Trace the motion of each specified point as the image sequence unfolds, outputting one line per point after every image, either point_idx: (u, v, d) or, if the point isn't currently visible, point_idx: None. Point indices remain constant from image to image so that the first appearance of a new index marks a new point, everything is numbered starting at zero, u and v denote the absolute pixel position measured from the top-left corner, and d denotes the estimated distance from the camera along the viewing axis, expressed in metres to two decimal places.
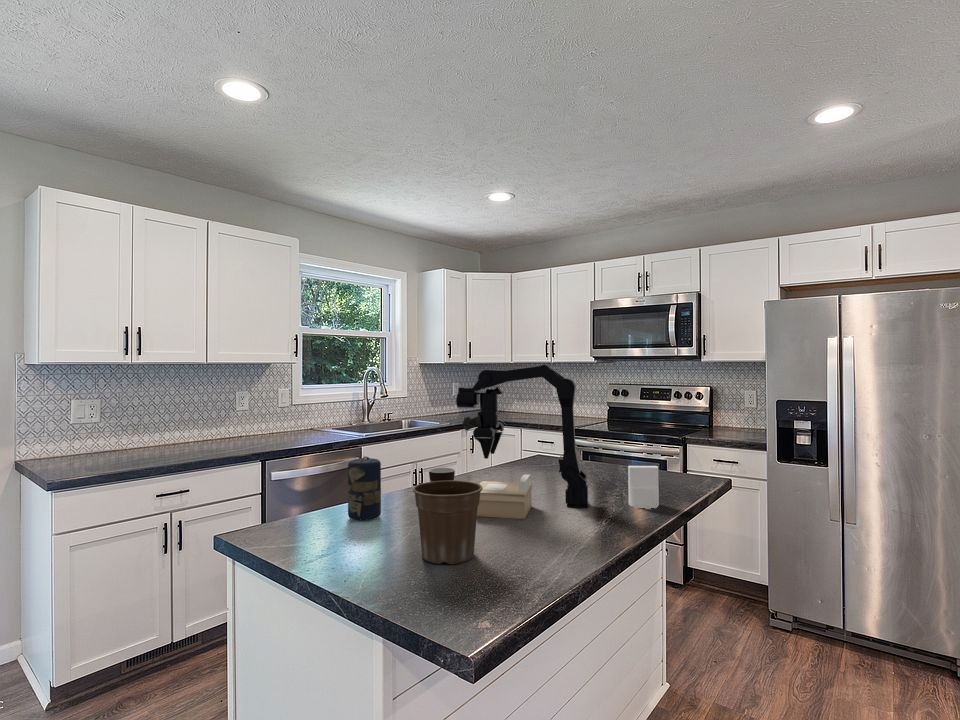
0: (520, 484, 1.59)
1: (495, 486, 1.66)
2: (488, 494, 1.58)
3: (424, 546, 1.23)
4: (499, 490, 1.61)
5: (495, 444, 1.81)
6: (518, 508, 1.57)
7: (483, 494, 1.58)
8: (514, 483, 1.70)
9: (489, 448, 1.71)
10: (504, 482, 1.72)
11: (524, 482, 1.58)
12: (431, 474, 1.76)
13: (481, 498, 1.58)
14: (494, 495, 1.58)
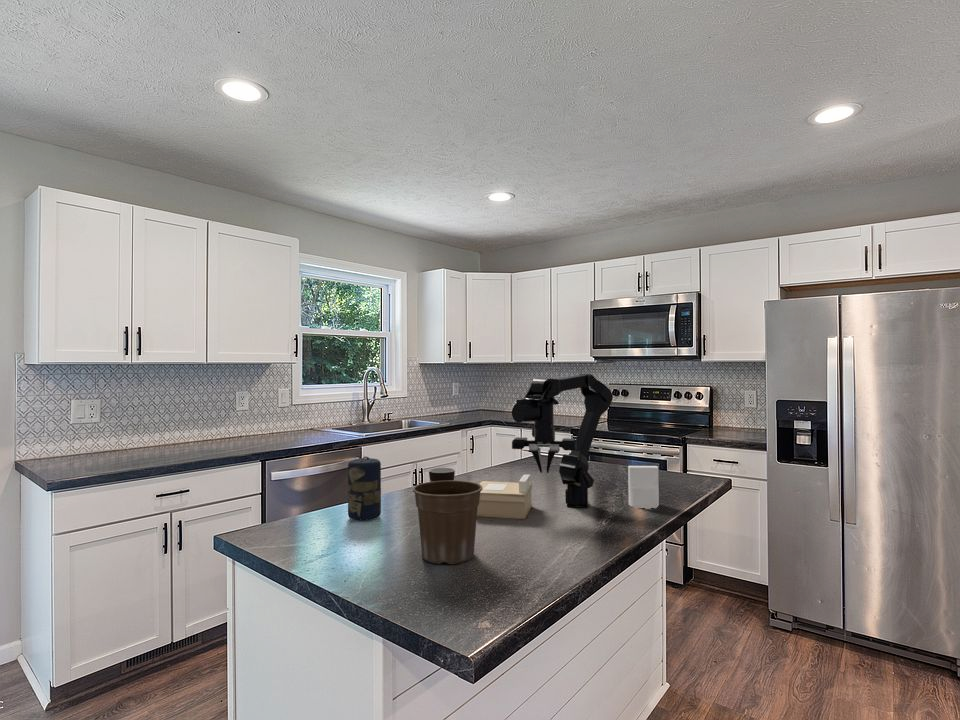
0: (520, 484, 1.59)
1: (495, 486, 1.66)
2: (488, 494, 1.58)
3: (424, 546, 1.23)
4: (499, 490, 1.61)
5: (547, 463, 1.61)
6: (518, 508, 1.57)
7: (483, 494, 1.58)
8: (514, 483, 1.70)
9: (537, 462, 1.61)
10: (504, 482, 1.72)
11: (524, 482, 1.58)
12: (431, 474, 1.76)
13: (481, 498, 1.58)
14: (494, 495, 1.58)
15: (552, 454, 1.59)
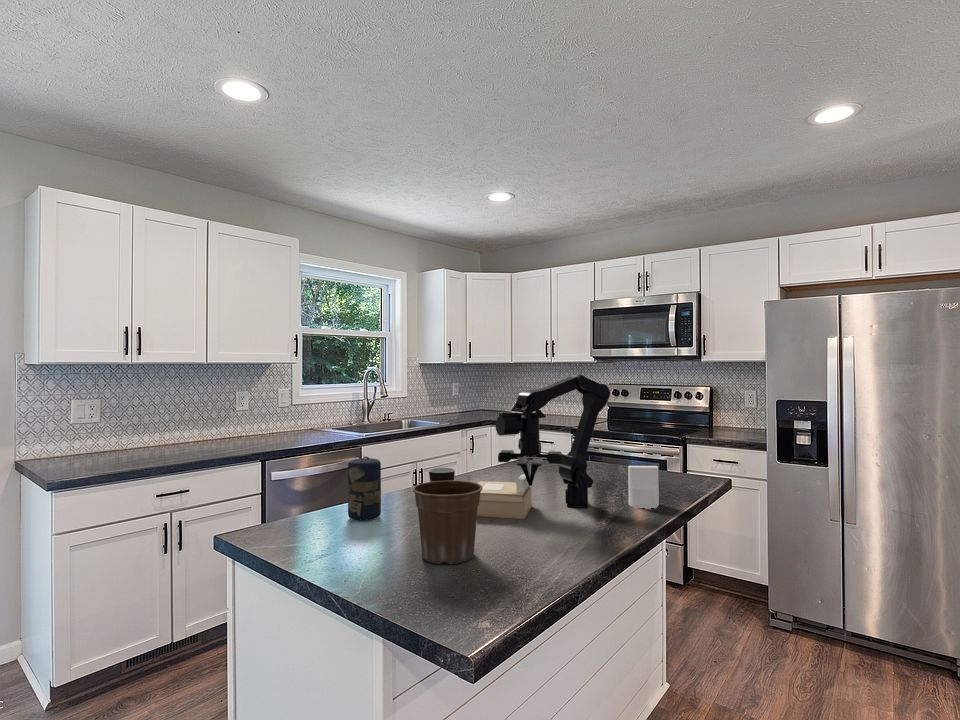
0: (518, 484, 1.59)
1: (493, 486, 1.66)
2: (486, 494, 1.58)
3: (424, 546, 1.23)
4: (497, 490, 1.61)
5: None
6: (518, 508, 1.57)
7: (481, 494, 1.58)
8: (512, 483, 1.71)
9: (525, 475, 1.62)
10: (502, 482, 1.72)
11: (522, 482, 1.59)
12: (431, 474, 1.76)
13: None
14: (491, 495, 1.58)
15: (535, 467, 1.60)
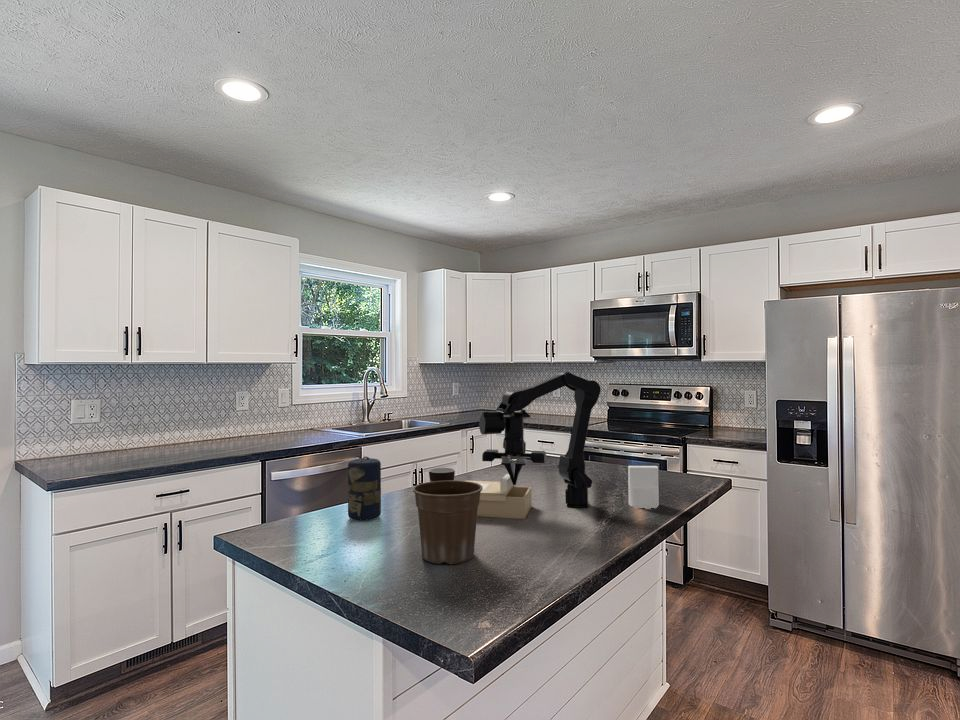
0: (501, 483, 1.60)
1: None
2: None
3: (424, 546, 1.23)
4: None
5: None
6: (518, 508, 1.57)
7: None
8: (497, 482, 1.72)
9: (509, 474, 1.63)
10: (487, 481, 1.73)
11: (505, 481, 1.60)
12: (431, 474, 1.76)
13: None
14: None
15: (519, 466, 1.61)
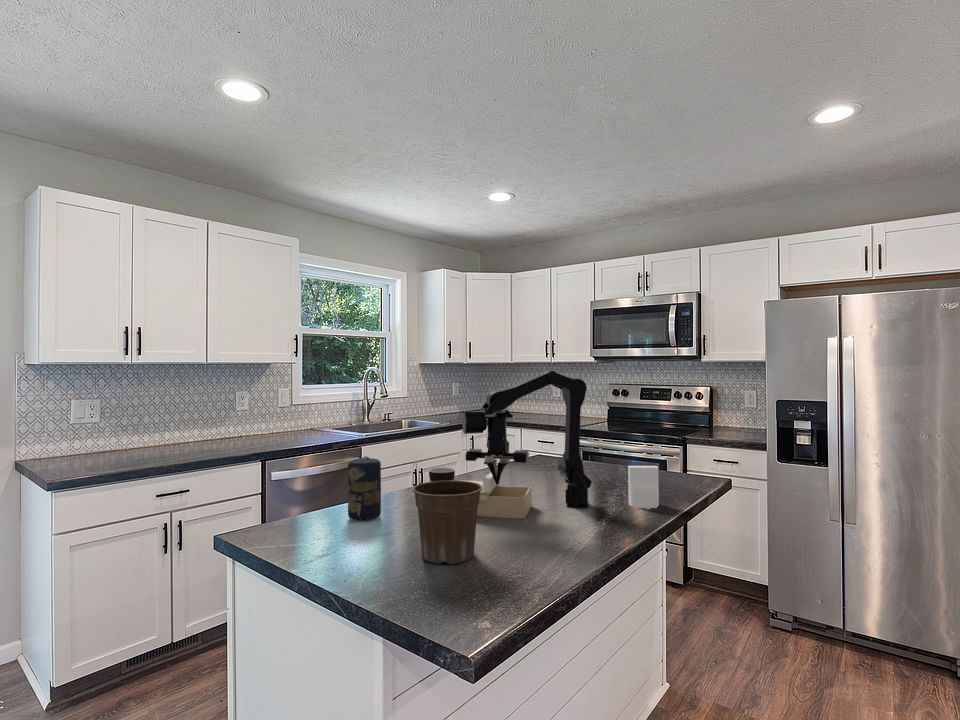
0: (484, 483, 1.61)
1: None
2: None
3: (424, 546, 1.23)
4: None
5: (497, 474, 1.64)
6: (518, 508, 1.57)
7: None
8: (480, 482, 1.73)
9: (492, 474, 1.64)
10: (471, 481, 1.74)
11: (488, 481, 1.61)
12: (431, 474, 1.76)
13: None
14: None
15: (501, 466, 1.62)
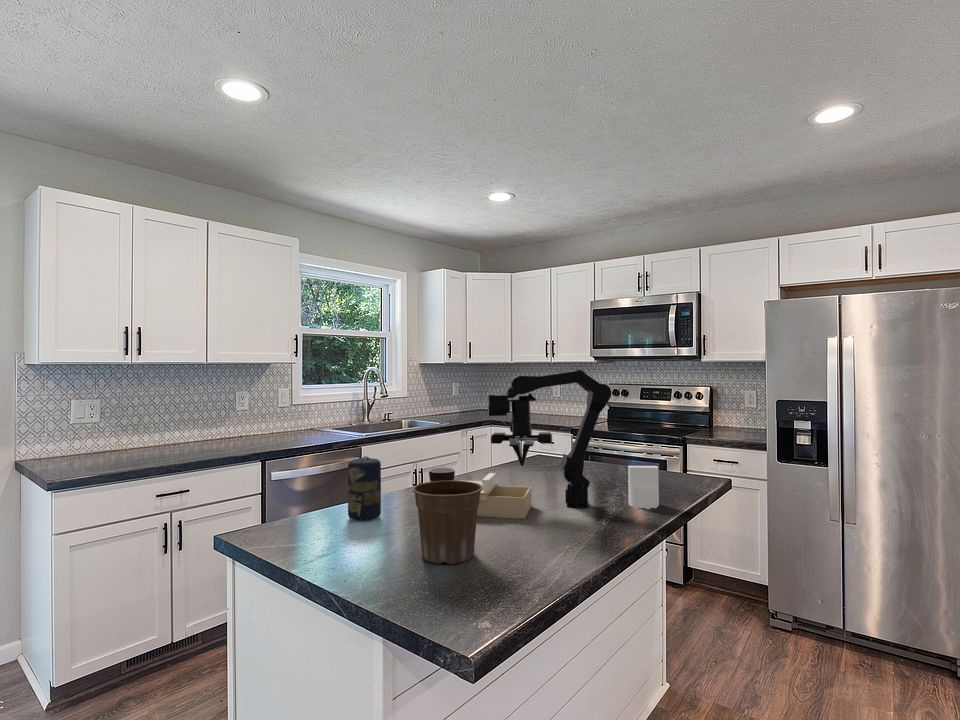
0: (483, 483, 1.61)
1: None
2: None
3: (424, 546, 1.23)
4: None
5: (522, 456, 1.69)
6: (518, 508, 1.57)
7: None
8: (480, 482, 1.73)
9: (517, 456, 1.69)
10: (470, 481, 1.75)
11: (487, 481, 1.61)
12: (431, 474, 1.76)
13: None
14: None
15: (527, 447, 1.67)
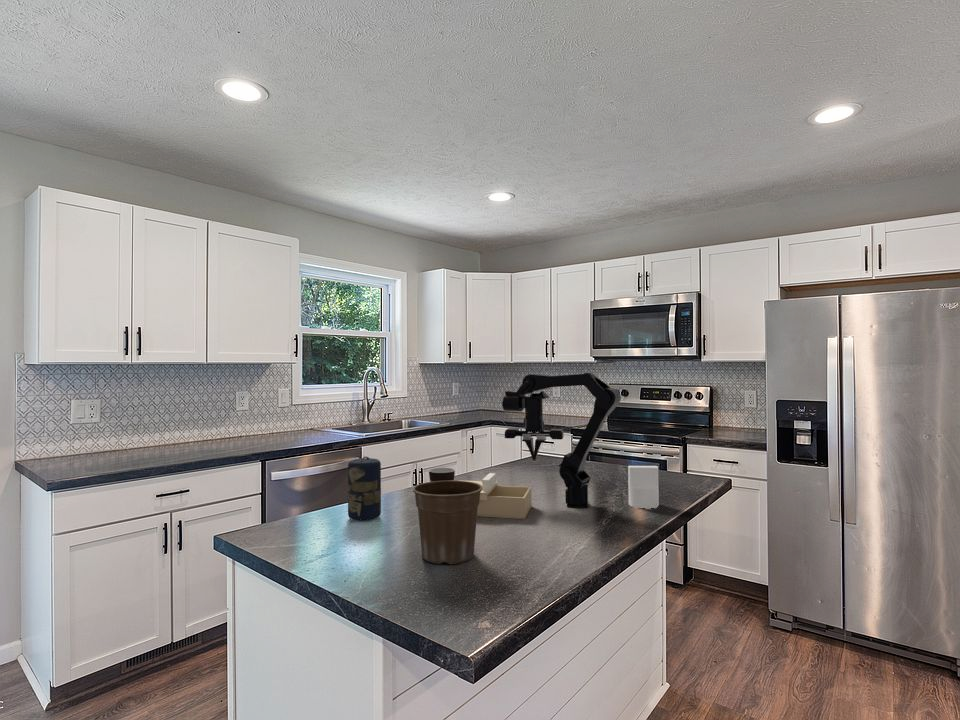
0: (483, 483, 1.61)
1: None
2: None
3: (424, 546, 1.23)
4: None
5: None
6: (518, 508, 1.57)
7: None
8: (480, 482, 1.73)
9: (530, 450, 1.77)
10: (470, 481, 1.75)
11: (487, 481, 1.61)
12: (431, 474, 1.76)
13: None
14: None
15: (539, 443, 1.75)
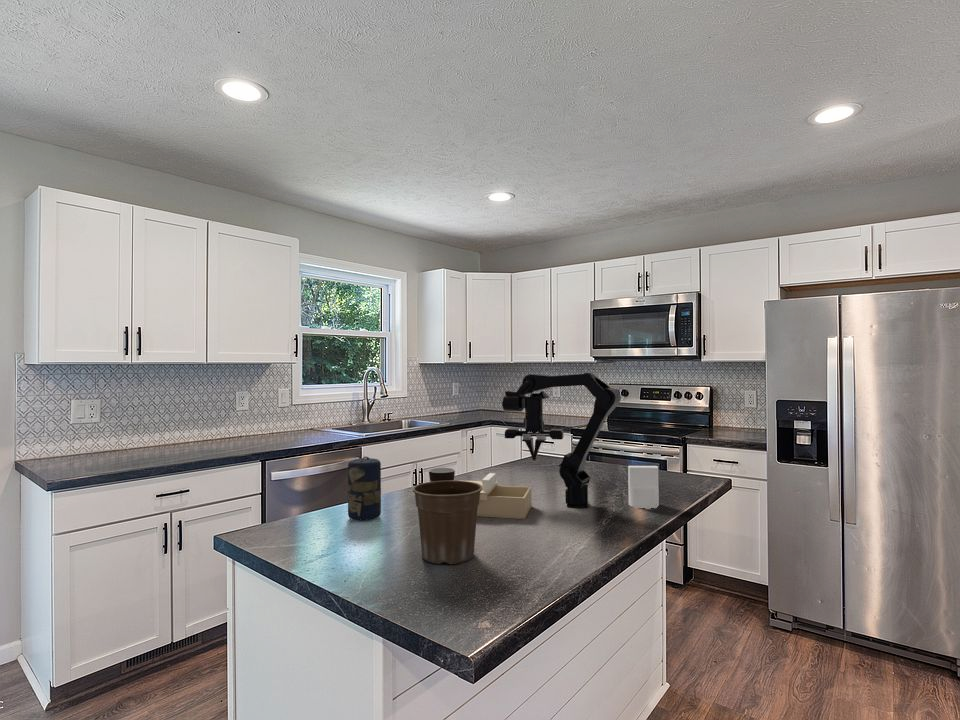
0: (483, 483, 1.61)
1: None
2: None
3: (424, 546, 1.23)
4: None
5: None
6: (518, 508, 1.57)
7: None
8: (480, 482, 1.73)
9: (530, 450, 1.77)
10: (470, 481, 1.75)
11: (487, 481, 1.61)
12: (431, 474, 1.76)
13: None
14: None
15: (539, 443, 1.75)
